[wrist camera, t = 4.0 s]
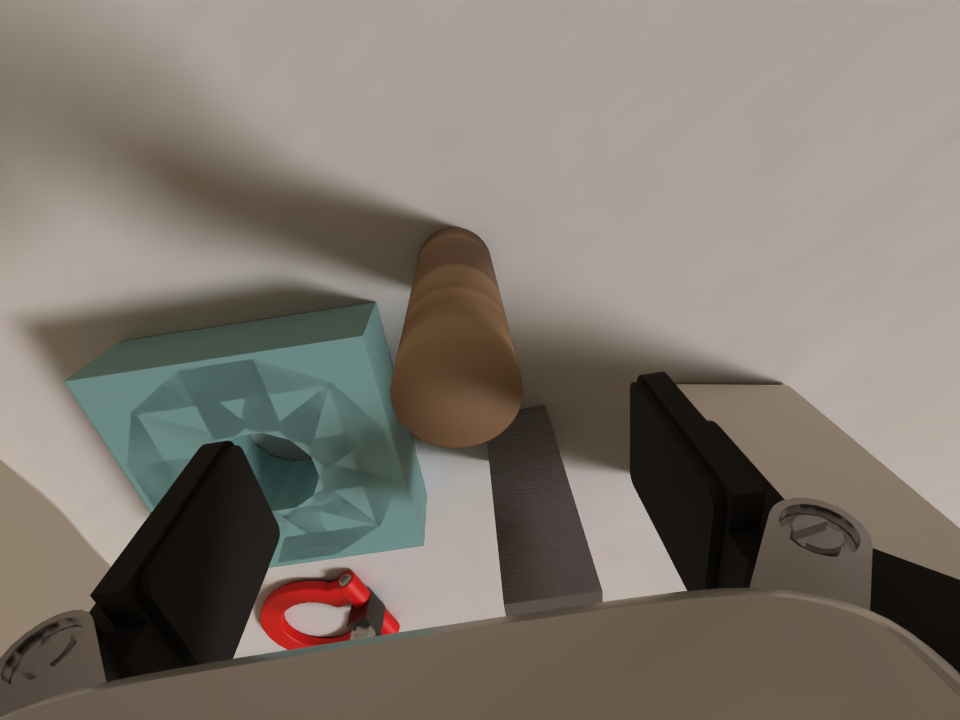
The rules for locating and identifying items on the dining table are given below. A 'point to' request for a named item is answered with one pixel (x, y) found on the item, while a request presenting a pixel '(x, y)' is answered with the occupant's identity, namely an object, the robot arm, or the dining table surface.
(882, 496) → the milk carton
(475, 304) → the walnut dowel
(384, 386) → the bore block
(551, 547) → the steel square bar
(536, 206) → the dining table surface
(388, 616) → the tow hook
